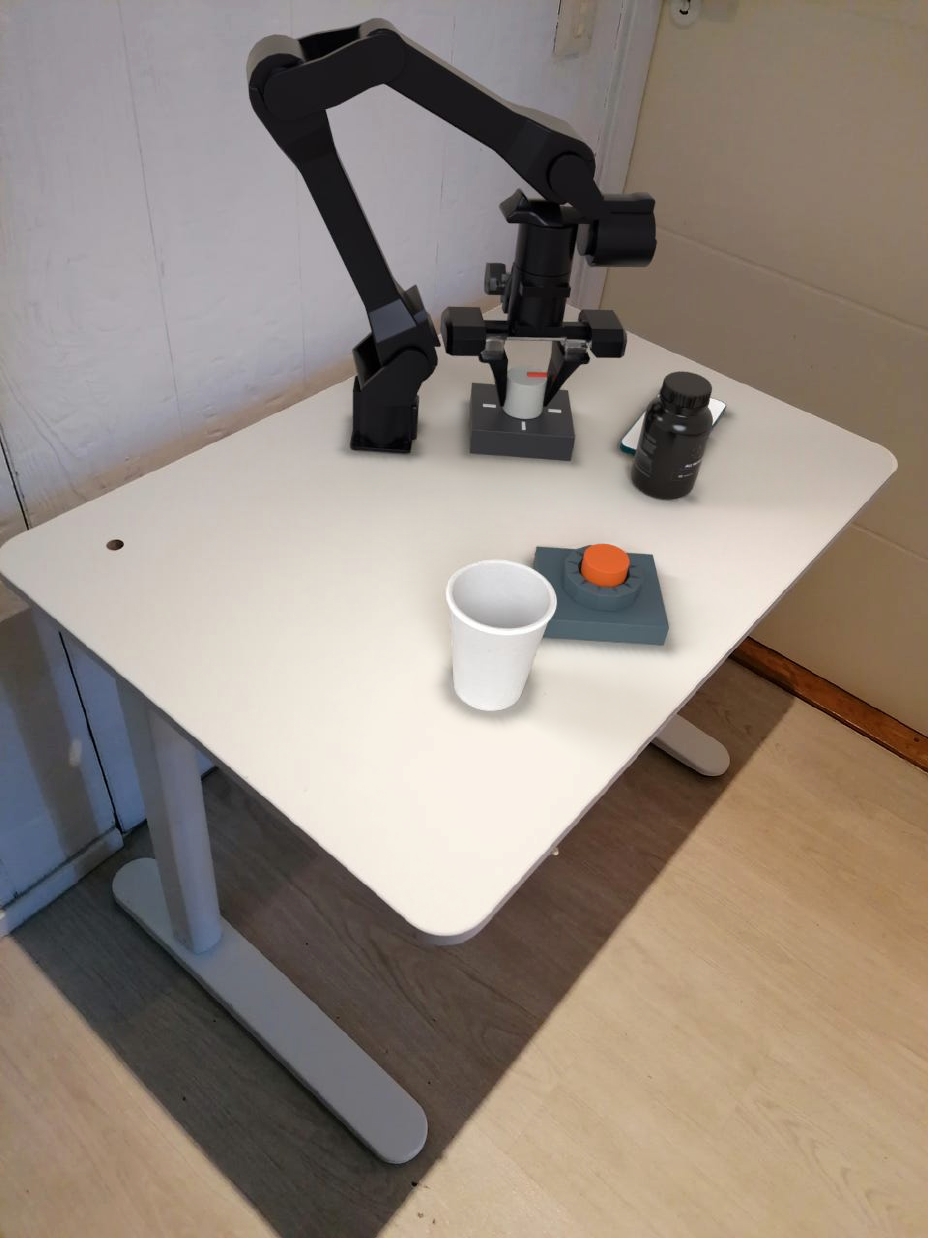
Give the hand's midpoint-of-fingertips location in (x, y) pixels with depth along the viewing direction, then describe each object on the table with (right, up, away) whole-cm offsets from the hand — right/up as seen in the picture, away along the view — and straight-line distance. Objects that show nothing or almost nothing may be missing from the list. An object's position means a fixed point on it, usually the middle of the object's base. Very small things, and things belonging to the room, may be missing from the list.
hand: (522, 404), depth 106 cm
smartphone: (+18, -2, +6) cm, 19 cm away
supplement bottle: (+15, -9, -3) cm, 17 cm away
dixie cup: (-4, -29, -26) cm, 39 cm away
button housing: (+6, -22, -18) cm, 29 cm away
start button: (+6, -19, -20) cm, 29 cm away
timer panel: (0, -3, +2) cm, 4 cm away
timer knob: (0, 0, 0) cm, 0 cm away
